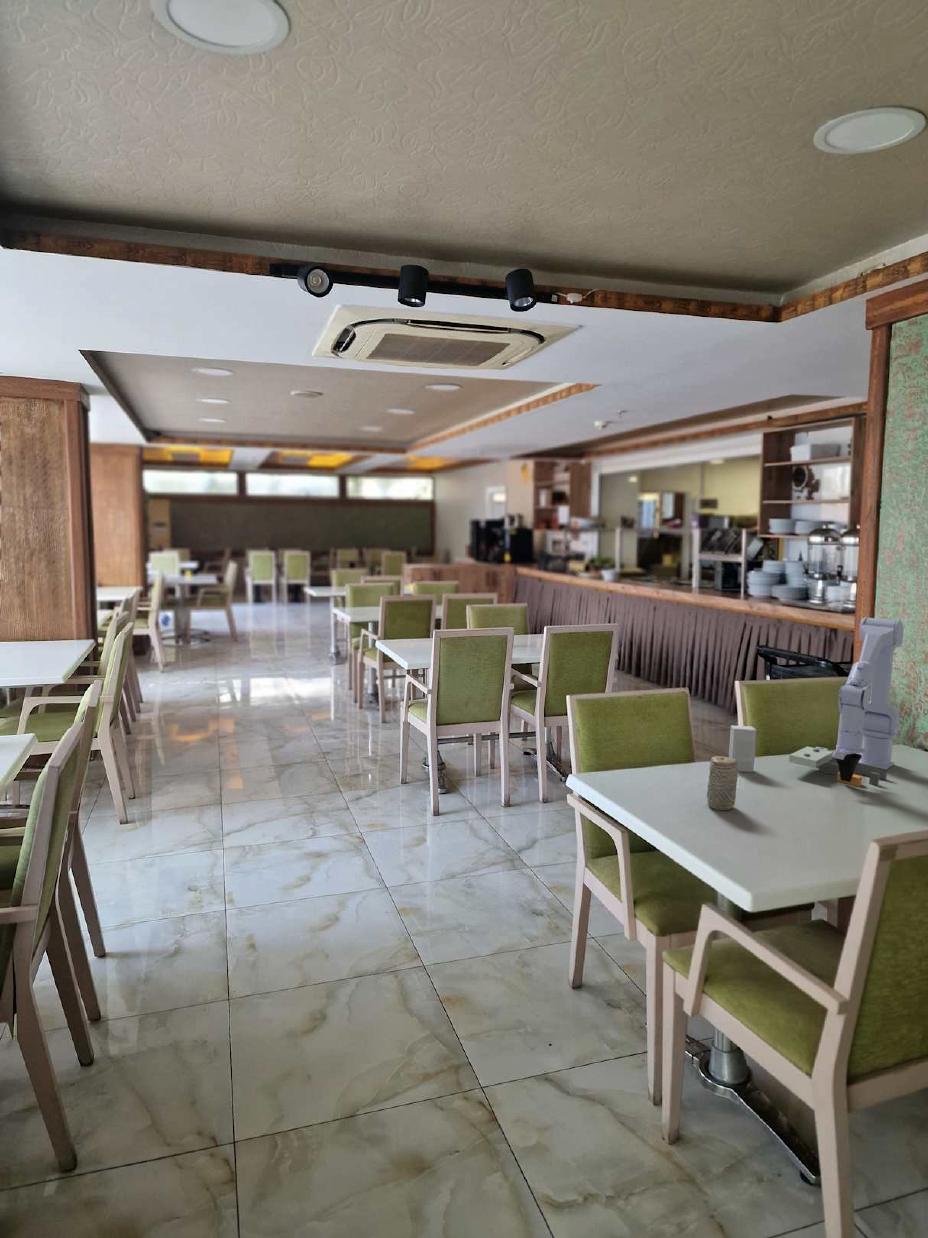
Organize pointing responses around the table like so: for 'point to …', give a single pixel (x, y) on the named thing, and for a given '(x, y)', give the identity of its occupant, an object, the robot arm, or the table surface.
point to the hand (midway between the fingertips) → (845, 780)
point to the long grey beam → (857, 770)
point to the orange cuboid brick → (855, 779)
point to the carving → (722, 783)
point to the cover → (811, 756)
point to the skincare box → (743, 747)
